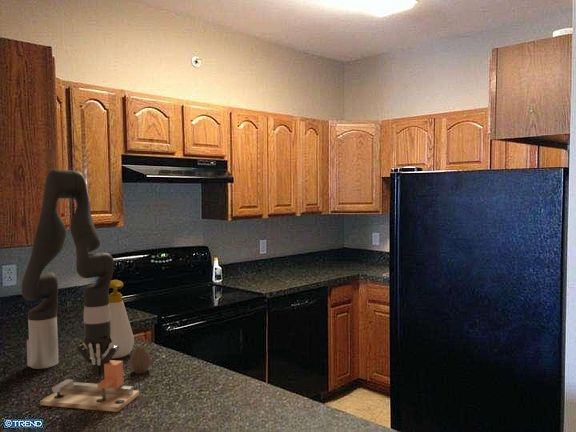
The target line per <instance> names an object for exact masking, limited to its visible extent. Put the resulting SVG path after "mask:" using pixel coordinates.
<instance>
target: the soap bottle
mask: <svg viewBox="0 0 576 432" xmlns="http://www.w3.org/2000/svg"><path fill="white" fill-rule="evenodd" d="M123 287H124V283H123V281H121V280H118V279H111V282H110V287H109V289H112V290H113V291H112V293H109V307H110V316H111V318H110V319H111V334H110V338H111V340H112V344H114V345H115V346H118V347H119V349H118V350H117V351H116V353H115V354H114V356H113V357H112V358H111V360H113V359H120V358H124V357H126V356H127V355H129V354H130V353H131V351H132V350H133V348H134V345H135V337H134V334H133V330H132V327H131V326H132V325H131V324H130V320H129V317H128V313H127V310H126V307H125V303H124V301H123V294H122V293H121V292H118V290H119V289H122V288H123ZM108 349H109V348H108ZM108 349H107V351H106V355H107V354H108V352H109V351H108Z"/></svg>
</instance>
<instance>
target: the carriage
mask: <svg viewBox="0 0 576 432" xmlns="http://www.w3.org/2000/svg"><path fill="white" fill-rule="evenodd" d="M103 375H104V379H103V380H101V381H100V382H98V383H96V384H97V385H98V388H102V400H105V399H106V395H105V388H118V387H120V386H123V385H124V383H125V382H124V360H113V359H111V360H110V361H108V362H106V363H105V364H104V374H103Z"/></svg>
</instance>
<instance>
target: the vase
mask: <svg viewBox="0 0 576 432" xmlns="http://www.w3.org/2000/svg"><path fill="white" fill-rule="evenodd" d="M151 365H152V357H151V355H150V353H149V351H148V350H147V349H146V347H145V345H142V344H141V345H137V346H136V347H135V349H134V351H133V352H132V354H131V356H130V359H129V366H130V369H131V371H132V372H134V373H135V374H145V373H146V372H147V371H148V370H150V367H151Z"/></svg>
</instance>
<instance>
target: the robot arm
mask: <svg viewBox="0 0 576 432" xmlns="http://www.w3.org/2000/svg"><path fill="white" fill-rule="evenodd" d="M87 187H88V186H87V184H86V180H85V177H84V174H83V173H82V172H81V171H79V170H73V169H72V170H70V169H69V170H68V169H52V170H50V171H49V172H48V173H47V175H46V178H45V183H44V188H43V196H42V206H41V211H40V214H39V215H40V216H39V220H38V222H37V226H36V230H35V235H34V239H33V243H32V249H31V254H30V258H29V261H28V264H27V266H26V270H25V272H24V276H23V278H22V282H21V294H22V297H23V298H24V300H27V301H38V300H41V302H40V303H39V304H37V305H36V306H35V307H33V308H31V309H30V310H28V312H27V319H28V322H27V323H28V339H27V340H26V359H27V360H26V361H27V367H29V368H31V369H33V370H34V369H35V370H40V369H47V368H52V367H55V366H56V365H58V364H59V340H58V339H59V338H58V334H59V333H58V308H59V307H58V297H59V296H58V294H59V285H58V277H57V275H56V274H55V273H54V272H52V271H46V272H44V270H45V268H47V266H48V265H49V264H50V263H51V262H52V261H53V260H54V259H55V258H56V257H57V256H59V254H60V253H61V251H62V250H63V247H64V245H65V244H64V243H65V241H66V240H65V239H66V237H67V228H66V225H65V223H64V221H63V219H62V218H61V216H60V215H59V212H58V208H57V207H58V206H57V203H58V200H59V199H74V200H75V202H76V208H75V212H74V214H73V216H72V219H71V222H70V234H71V237H72V240H73V243H74V245H75V255H76V256H75V257H76V262H75V263H76V264H75V268H76V273H77V274H78V276H80V277H81V278H83V279H90V278H97V277H98V278H97V280H96V282H94V283H92V284H89V285H87V286H86V287H85V288H84V289H83V305H84V306H83V335H84V337H85V338H84V339H83V342H82V344H80V345H78V346H77V350H78V351H79V353H80V354H81V356H82V357H83V358H84V359H85V361H86V363H91V365H92V374H93V375H94V377H95V378H101V377H102V376H103V375H104V364H105V363H107V362H109V361H110V360H112V359H111V358H112V357H113V356H114V354H115V353H116V351H117V350H118V349H119V347H118V346H115V345H114V344H112V340H111V338H110V334H111V319H110V318H111V316H110V307H109V295H110V293H109V291H110V288H109V287H110V282H111V281H112V278H113V273H114V269H115V260H114V257H113V256H112V255H111V254H110V253H108V252H99V253H91V252H94V251H96V250H98V249H99V247H100V246H101V240H100V237H99V235H98V232H97V229H96V227H95V223H94V221H93V217H92V211H91V205H90V199H89V193H88V188H87ZM108 348H109V349H108ZM107 349H108V351H109V352H108V354H107V355H106V351H107Z"/></svg>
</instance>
